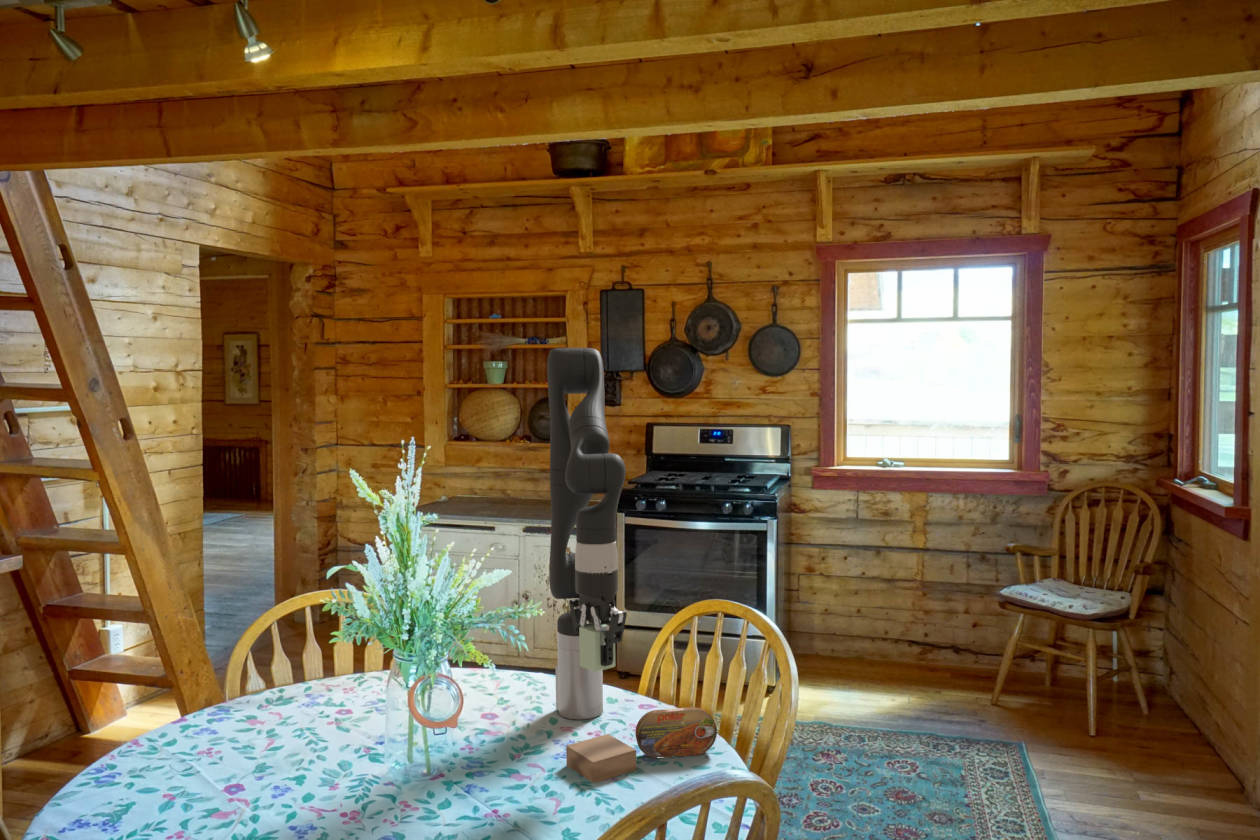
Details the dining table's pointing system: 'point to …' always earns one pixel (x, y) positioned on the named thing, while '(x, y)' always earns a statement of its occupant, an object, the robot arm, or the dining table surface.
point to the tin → (675, 732)
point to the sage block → (592, 649)
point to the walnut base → (601, 758)
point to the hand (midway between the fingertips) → (597, 661)
